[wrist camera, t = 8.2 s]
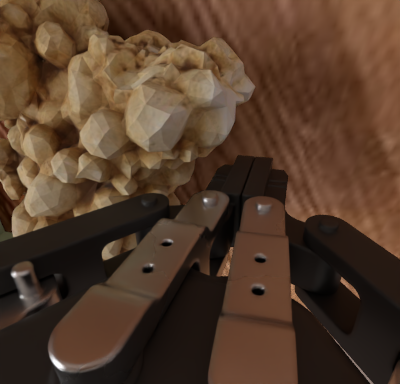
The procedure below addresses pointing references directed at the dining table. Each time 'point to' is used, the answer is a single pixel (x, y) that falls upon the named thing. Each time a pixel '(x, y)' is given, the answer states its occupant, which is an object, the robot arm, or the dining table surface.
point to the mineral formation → (104, 111)
